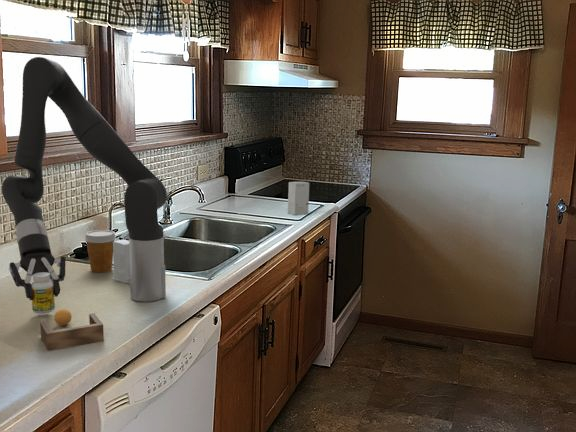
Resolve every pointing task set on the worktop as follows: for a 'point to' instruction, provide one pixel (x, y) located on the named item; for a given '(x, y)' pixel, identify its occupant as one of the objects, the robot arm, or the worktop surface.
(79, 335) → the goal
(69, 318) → the ball
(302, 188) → the skincare box
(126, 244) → the skincare box
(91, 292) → the worktop surface
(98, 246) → the disposable coffee cup
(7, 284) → the worktop surface
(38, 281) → the supplement bottle
